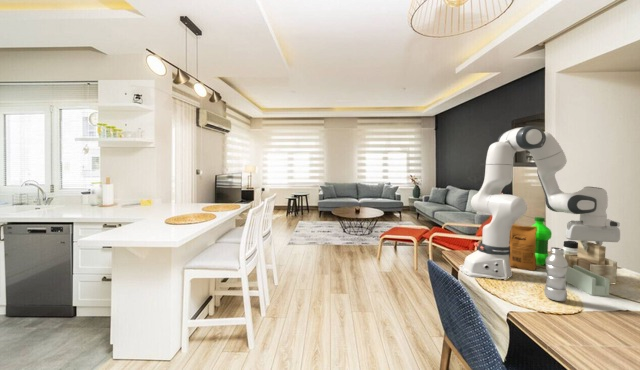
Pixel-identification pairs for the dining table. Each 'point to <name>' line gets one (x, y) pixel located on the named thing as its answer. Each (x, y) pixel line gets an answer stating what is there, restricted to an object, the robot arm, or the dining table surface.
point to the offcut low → (571, 264)
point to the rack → (601, 268)
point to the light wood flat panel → (592, 253)
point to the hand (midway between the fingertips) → (591, 250)
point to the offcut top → (574, 259)
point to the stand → (588, 281)
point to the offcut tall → (585, 263)
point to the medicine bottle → (570, 247)
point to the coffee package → (523, 247)
